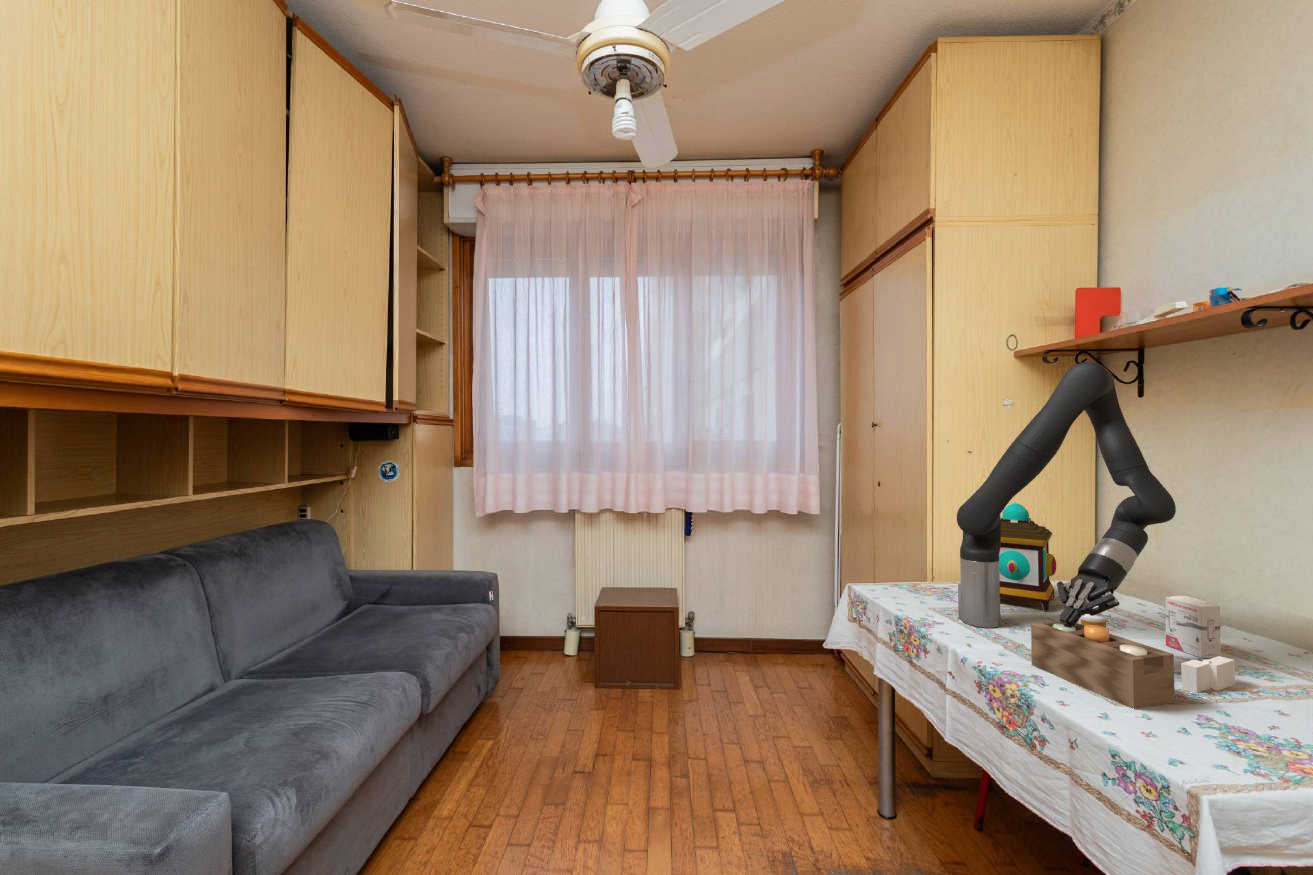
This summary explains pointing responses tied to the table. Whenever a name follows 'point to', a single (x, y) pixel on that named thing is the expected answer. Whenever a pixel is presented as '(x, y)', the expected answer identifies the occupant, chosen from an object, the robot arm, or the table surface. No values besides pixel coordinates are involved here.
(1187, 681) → the white stepped block
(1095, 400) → the robot arm
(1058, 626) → the sage egg
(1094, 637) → the orange egg
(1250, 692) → the table surface
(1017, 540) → the decorative lantern
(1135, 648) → the cream egg
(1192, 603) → the ink box
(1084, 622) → the supplement bottle
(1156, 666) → the wooden egg holder
